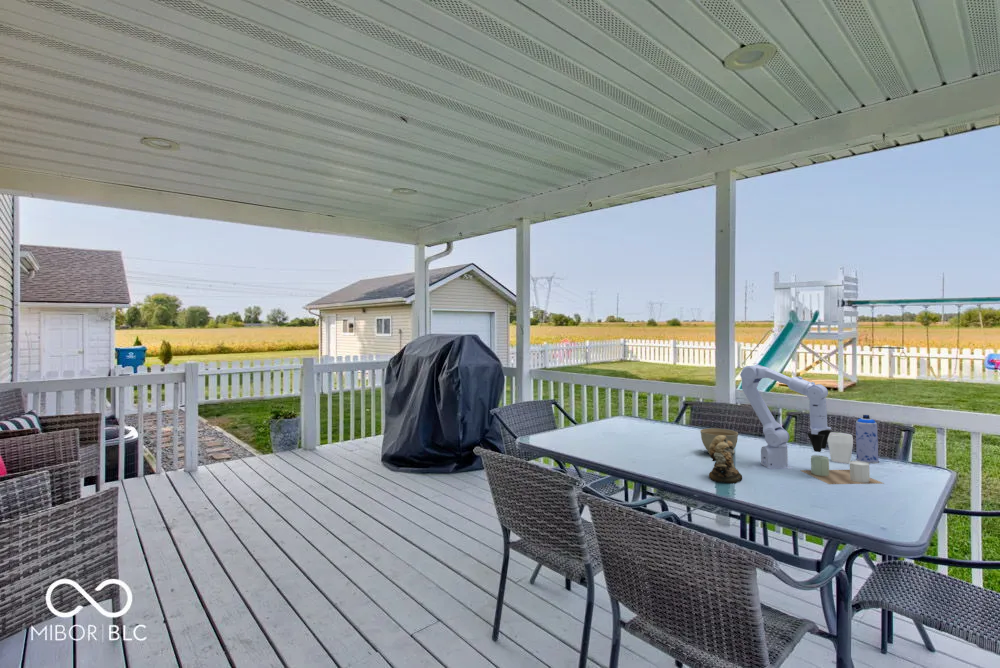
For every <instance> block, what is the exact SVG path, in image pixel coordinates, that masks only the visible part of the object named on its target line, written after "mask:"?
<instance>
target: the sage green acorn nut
mask: <svg viewBox="0 0 1000 668" xmlns="http://www.w3.org/2000/svg"><path fill="white" fill-rule="evenodd" d="M810 470H811V473H812V474H814V475H820V476H828V475H829V470H830V459H829V457H828V456H825V455H819V454H818V455H817V454H816V455H815V454H814V455H811V458H810Z"/></svg>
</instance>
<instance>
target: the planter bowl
mask: <svg viewBox="0 0 1000 668" xmlns="http://www.w3.org/2000/svg"><path fill="white" fill-rule="evenodd" d="M699 432H700V438H701V441H702V444H703V446H704V448H705V449H706V451H707V454H708V453H709V454H708V455H710V449H709V446H710V444H711V443H712V440H713V439H714V438H715V437H716V436H719V435H724V436H726V438H727V441H731V442H732V443H733V447H734V449H735V448H736V446H737V444H738V437H739V432H738V431H736V430H732V429H728V428H727V429H726V428H713V427H711V428H703V429H700V430H699Z"/></svg>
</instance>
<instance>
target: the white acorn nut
mask: <svg viewBox="0 0 1000 668" xmlns="http://www.w3.org/2000/svg"><path fill="white" fill-rule="evenodd" d="M849 470H850V480H853V481H855V482H861V483H869V482H870V478H871V475H870V463H866V462H862V461H857V460H851V461H850V463H849Z"/></svg>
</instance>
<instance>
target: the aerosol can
mask: <svg viewBox="0 0 1000 668" xmlns="http://www.w3.org/2000/svg"><path fill="white" fill-rule="evenodd" d="M878 437H879V436H878V422H876V420H875V419H872V418H871V417H870V414H862V417H860V418H858V419H857V420H856V421H855V443H856V447H855V448H856V449H855V451H856V459H855V461H862V462H866V463H869V464H879V463H880V461H879V438H878Z"/></svg>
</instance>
